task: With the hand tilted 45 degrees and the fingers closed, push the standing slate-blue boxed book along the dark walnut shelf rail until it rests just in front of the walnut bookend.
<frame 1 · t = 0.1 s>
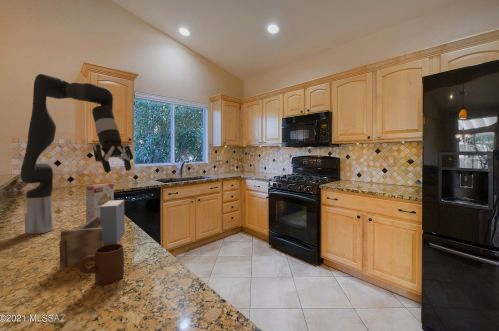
hand: (119, 170, 90), 31 cm above the countertop, tool tilted 20°, fingers open, 8 cm apart
cracker box: (101, 220, 133), on the countertop
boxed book: (113, 238, 105), on the countertop
mug: (102, 282, 69), on the countertop
shelf corner: (99, 248, 93), on the countertop
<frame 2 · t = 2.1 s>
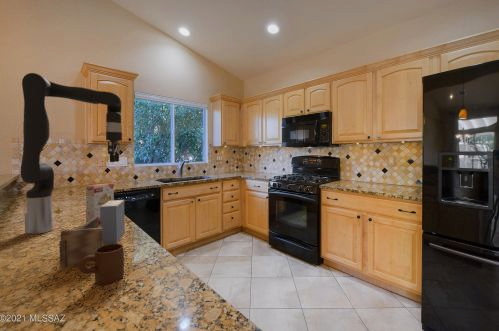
hand: (114, 161, 125), 34 cm above the countertop, tool pointing down, fingers open, 8 cm apart
nothing on the countertop moved.
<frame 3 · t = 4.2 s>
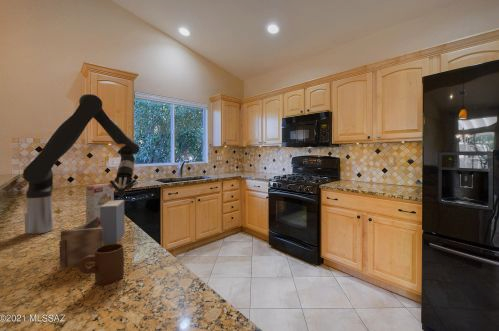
hand: (120, 195, 118), 17 cm above the countertop, tool tilted 45°, fingers closed
nothing on the countertop moved.
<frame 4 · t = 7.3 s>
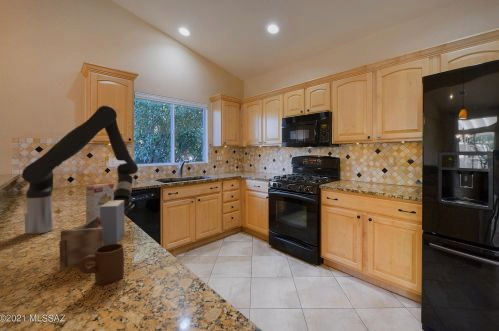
hand: (117, 221, 112), 6 cm above the countertop, tool tilted 45°, fingers closed
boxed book: (113, 238, 105), on the countertop, touching gripper
everything else where it was.
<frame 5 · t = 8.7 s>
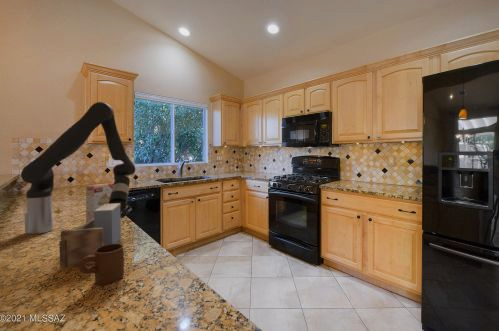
hand: (113, 225, 104), 6 cm above the countertop, tool tilted 45°, fingers closed
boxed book: (108, 244, 97), on the countertop, touching gripper
everything else where it was.
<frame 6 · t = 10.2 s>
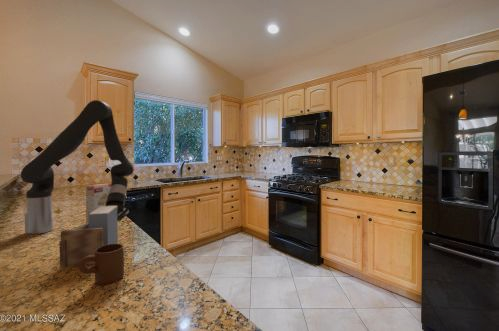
hand: (110, 229, 99), 6 cm above the countertop, tool tilted 45°, fingers closed
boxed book: (104, 249, 92), on the countertop, touching gripper
everything else where it was.
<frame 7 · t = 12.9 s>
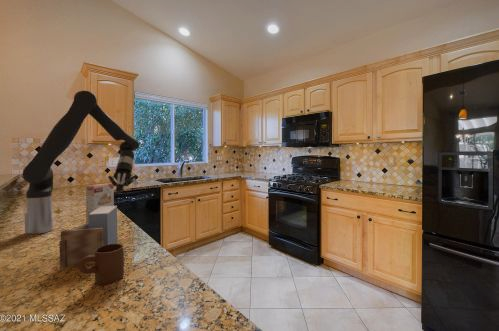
hand: (118, 191, 115), 19 cm above the countertop, tool tilted 45°, fingers closed
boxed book: (104, 249, 92), on the countertop
everything else where it was.
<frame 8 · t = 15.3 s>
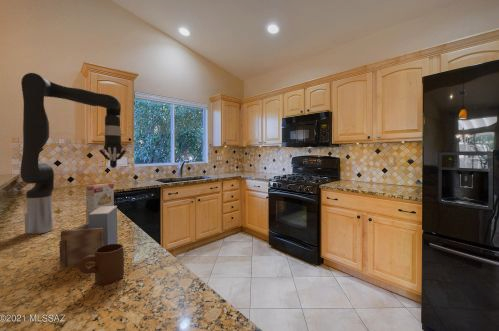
hand: (113, 167, 124), 31 cm above the countertop, tool pointing down, fingers closed
nothing on the countertop moved.
at the end: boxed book inside the target area (0.6 cm from its centre), on the countertop; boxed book tilted 0°; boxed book moved 13.4 cm from its start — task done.
